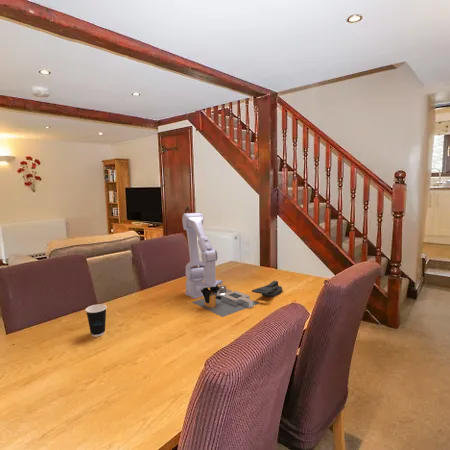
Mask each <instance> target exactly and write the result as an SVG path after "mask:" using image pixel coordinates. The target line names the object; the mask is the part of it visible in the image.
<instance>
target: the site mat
mask: <svg viewBox="0 0 450 450" xmlns="http://www.w3.org/2000/svg"><path fill="white" fill-rule="evenodd" d="M191 303H192V304H193V305H197V306H198V307H200V308H202V309H205V310H207V311H209V312H211V313H213V314H216V315H217V316H220V317H221V318H224V317H227V316H229V315H232V314H235V313H238V312H240V311H243V310H245V309H248V308H247V307H244V306H242V305H238V306H235V307H234V306H232V305H230V304H227V303H225V302H223V301H221V297H218V296H216V306H215V307H212V308H210V307H208V306H206V305H205V299H204V297H203V298H200V299H197V300H194V301H192V302H191ZM255 305H260V303H259V302H258V301H255V300H253V307H254V306H255Z"/></svg>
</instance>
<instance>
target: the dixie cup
mask: <svg viewBox="0 0 450 450" xmlns="http://www.w3.org/2000/svg"><path fill="white" fill-rule="evenodd" d="M107 308H108V307H107V305H106V304H99V303H98V304H93V305H89V306H88V307H86V308H85V309H84V310H85V312H86V317H87V322H88V327H89V332H90V335H91V337H93V336H94V338H98V336H99V337H102V336H104V335H105V331H106V321H107V319H106V315H107Z"/></svg>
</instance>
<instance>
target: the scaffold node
mask: <svg viewBox="0 0 450 450" xmlns="http://www.w3.org/2000/svg"><path fill="white" fill-rule="evenodd" d="M218 287H219V290H218V292H217V294H216V296H218V297H221V301H223V302H225V303H227V304H230V305H232V306H234V307H235V306H238V305H242V306H244V307H247V308H246V309H251V308H254V306H253V301H254V300H252V299H250V295H249V294H246V293H243V292H241V291H238V290H234V291H233V290H232V289H228V288H227V286H226V285H218Z"/></svg>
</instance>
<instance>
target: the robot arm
mask: <svg viewBox="0 0 450 450" xmlns="http://www.w3.org/2000/svg"><path fill="white" fill-rule="evenodd" d="M181 219H182V227H183V230H184V231H186V236H187V245H188V254H189V261H188V263H187V264H186V265H185V277H186V282H185V293H184V294H185V295H186V296H188V297H190V298H193V299H197V298H198V299H199V298H202V297H203V298H204V299H205V302H206V303H209V296H210V290H211V291H214V292H216V294H217V292H218V290H219V286H223V281H224V280H222V279H216V272H217V271H216V261H217V260H218V252H217V250H216V249H215V248H214V247H213V246H212V243H211V240H210V238H209V237H208V236H206V233H205V230H204V226H203V225H204V214H203V213H202V212H189V213H188V212H187V213H183V214H182V218H181ZM199 249H200V252H201V254H200V255H199ZM200 256H201V260H200Z"/></svg>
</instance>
